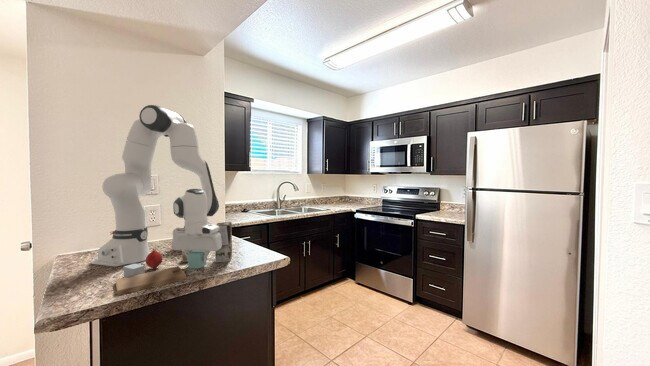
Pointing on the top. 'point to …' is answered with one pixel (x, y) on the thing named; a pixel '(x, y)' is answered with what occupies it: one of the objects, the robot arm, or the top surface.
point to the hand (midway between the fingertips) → (197, 260)
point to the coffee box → (225, 242)
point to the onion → (154, 259)
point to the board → (149, 280)
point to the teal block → (196, 259)
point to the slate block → (133, 270)
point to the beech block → (184, 256)
